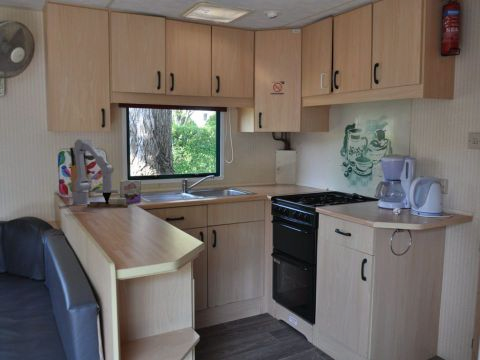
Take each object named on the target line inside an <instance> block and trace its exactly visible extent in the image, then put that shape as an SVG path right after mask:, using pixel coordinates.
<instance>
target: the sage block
mask: <svg viewBox="0 0 480 360" xmlns="http://www.w3.org/2000/svg"><path fill="white" fill-rule="evenodd" d="M116 198H117V204H126V198H120V197H116Z"/></svg>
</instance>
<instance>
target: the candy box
mask: <svg viewBox="0 0 480 360" xmlns="http://www.w3.org/2000/svg"><path fill="white" fill-rule="evenodd" d="M141 183H142V181H141V180H132V179H131V180H128V179H127V180H123V179H121V180H120V186H119V198H126V202H129V203H141V198H142V197H141V194H142V193H141V191H142V190H141V188H142V187H141V185H142V184H141Z"/></svg>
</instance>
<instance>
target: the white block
mask: <svg viewBox="0 0 480 360" xmlns="http://www.w3.org/2000/svg"><path fill="white" fill-rule="evenodd" d="M117 198H118V197H110V198H109V201H108V202H109V204H117Z"/></svg>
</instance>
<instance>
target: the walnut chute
mask: <svg viewBox="0 0 480 360" xmlns="http://www.w3.org/2000/svg"><path fill="white" fill-rule="evenodd" d="M129 206H130V202H126V204H109V201H108V204H106V202H105V201H89V203H87V205H86V207H87V208H129Z"/></svg>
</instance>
